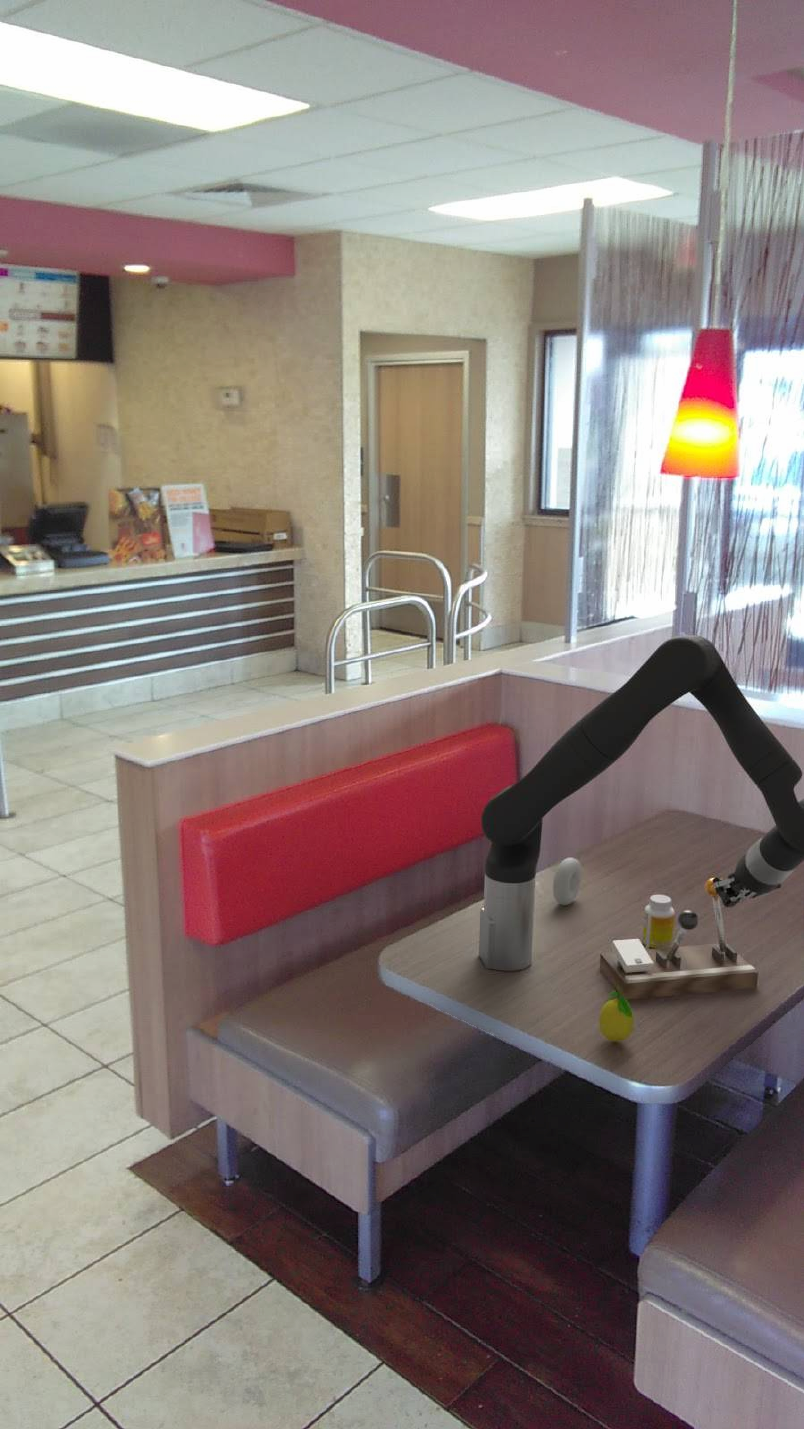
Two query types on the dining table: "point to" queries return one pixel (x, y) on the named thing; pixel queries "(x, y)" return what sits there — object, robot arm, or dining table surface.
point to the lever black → (682, 930)
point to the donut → (567, 881)
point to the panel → (682, 972)
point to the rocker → (632, 955)
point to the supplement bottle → (658, 923)
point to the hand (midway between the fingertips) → (726, 902)
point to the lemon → (616, 1018)
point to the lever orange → (717, 914)
